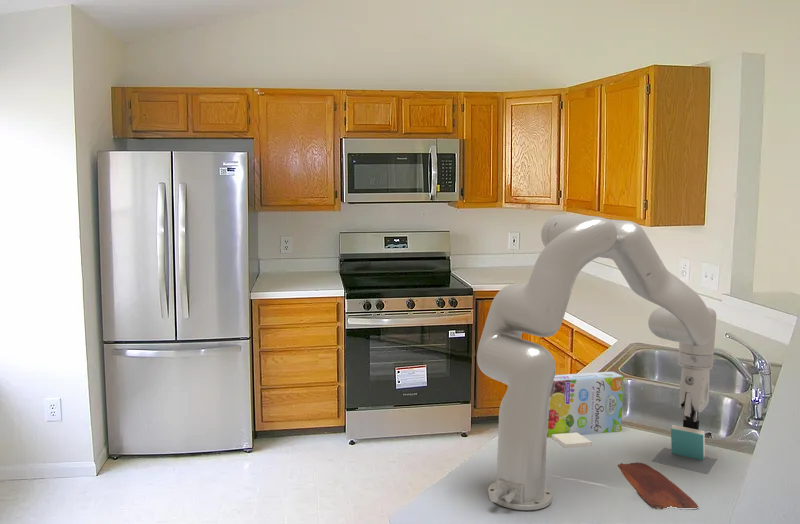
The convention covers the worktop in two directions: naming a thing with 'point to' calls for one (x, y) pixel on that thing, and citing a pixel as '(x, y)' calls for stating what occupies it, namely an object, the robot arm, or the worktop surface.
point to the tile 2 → (688, 442)
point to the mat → (684, 461)
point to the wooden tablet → (655, 487)
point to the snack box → (585, 403)
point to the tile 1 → (571, 440)
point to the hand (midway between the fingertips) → (690, 436)
